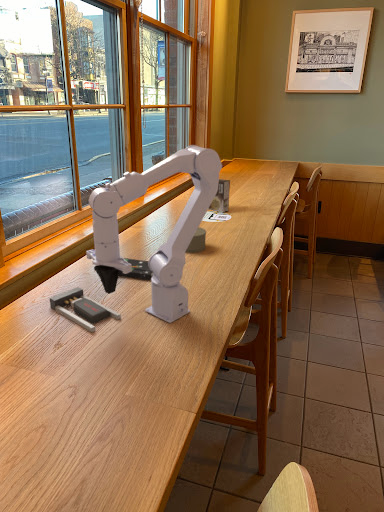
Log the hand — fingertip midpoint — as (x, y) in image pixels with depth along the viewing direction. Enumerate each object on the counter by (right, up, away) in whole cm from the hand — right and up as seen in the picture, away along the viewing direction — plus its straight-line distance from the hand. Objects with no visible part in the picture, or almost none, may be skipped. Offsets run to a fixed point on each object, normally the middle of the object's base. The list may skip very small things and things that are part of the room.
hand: (110, 291), depth 96 cm
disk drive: (+1, +3, +33) cm, 33 cm away
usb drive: (-7, -7, +7) cm, 12 cm away
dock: (-9, -6, +7) cm, 13 cm away
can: (+20, +12, +55) cm, 59 cm away
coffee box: (+34, +32, +107) cm, 116 cm away
